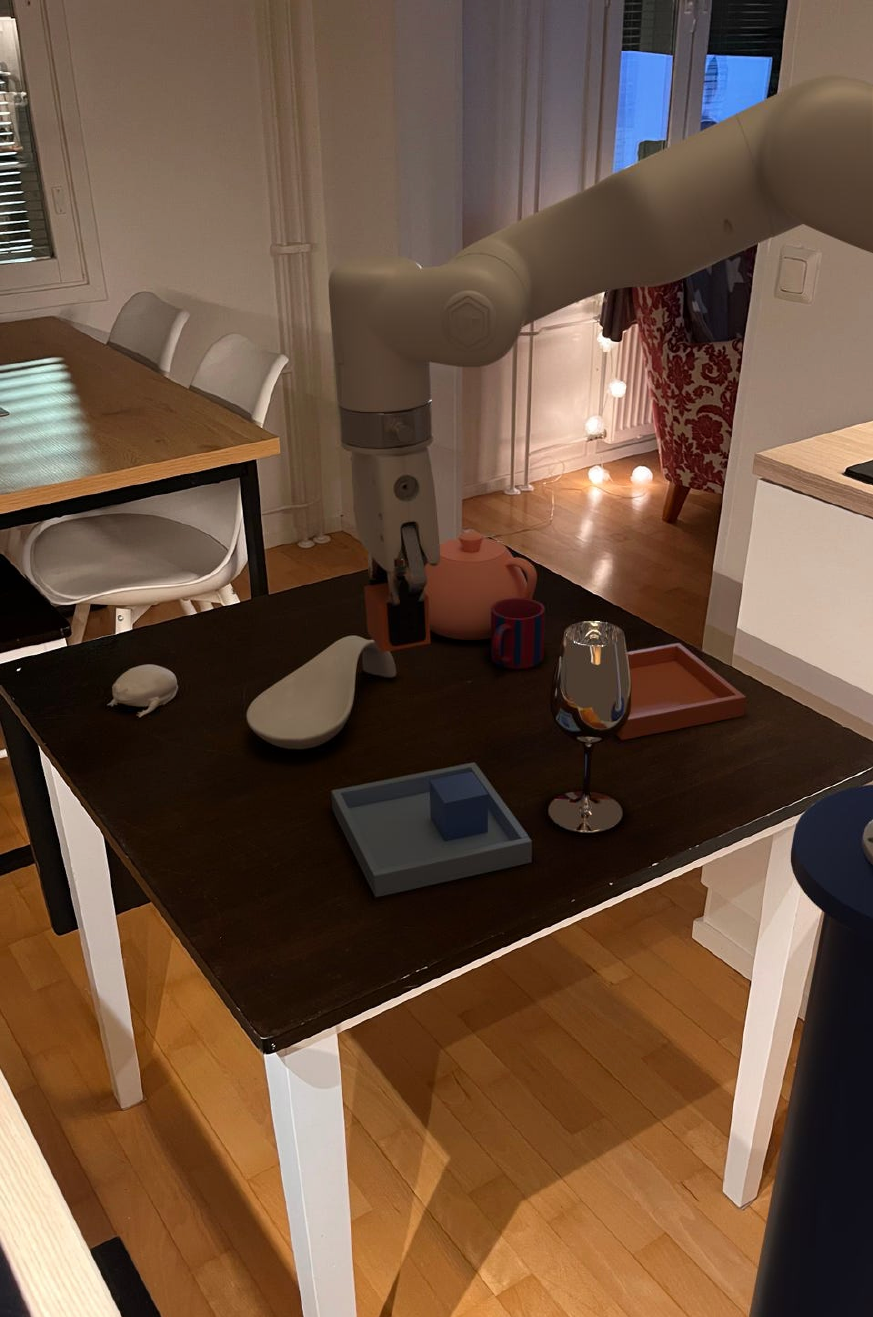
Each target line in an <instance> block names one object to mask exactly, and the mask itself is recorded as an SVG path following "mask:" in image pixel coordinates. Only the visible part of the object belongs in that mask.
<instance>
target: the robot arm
mask: <svg viewBox="0 0 873 1317" xmlns="http://www.w3.org/2000/svg"><path fill="white" fill-rule="evenodd" d="M802 225H804V226H806V227H808V228H811V229H813V230H815V231H817V232H820V233H821V234H824V235H826V236H829V237H832V238H833V239H836V240H838V241H840V242H842V243H845V244H847V245H850V246H853V247H856V248H858V249H860V250H863V251H865V252H868V253H871V254H873V84H872V83H870V82H867V81H864V80H861V79H858V78H854V77H849V76H848V77H847V76H843V75H833V74H832V75H821V76H817V77H813V78H810V79H806V80H804V81H802V82H799V83H797V84H795V85H792V86H790V87H788V88H786V89H784V90H782V91H780V92H777V93H775V94H774V95H772V96H769V97H768V98H765V99H764V100H761V101H759V102H757V103H755V104H753V105H751V106H750V107H747V108H745V109H742V110H741V111H739V112H736V113H735V114H733V115H731V116H728V117H727V118H725V119H723V120H720V121H719V122H716V123H715V124H713V125H711V126H709V127H706V128H705V129H703V130H701V131H698V132H697V133H694V134H693V135H690V136H688V137H686V138H684V139H682V140H680V141H677V142H676V143H674V144H672V145H670V146H667V147H666V148H663V149H661V150H659V151H658V152H655V153H652V154H651V155H649V156H646V157H644V158H642V159H640V160H639V161H636V162H635V163H632V164H630V165H629V166H626V167H624V168H622V169H620V170H618V171H616V172H614V173H611V174H610V175H608V176H607V177H605V178H603V179H601V180H600V181H599V182H596V183H595V184H593V185H591V186H590V187H587V188H586V189H584V190H582V191H579V192H577V193H575V194H573V195H571V196H568V197H567V198H564V199H562V200H560V201H558V202H556V203H554V204H552V205H550V206H547V207H545V208H543V209H541V210H539V211H537V212H534V213H533V214H530V215H529V216H527V217H525V218H523V219H520V220H519V221H516V222H514V223H512V224H510V225H508V226H506V227H504V228H502V229H500V230H497V231H496V232H494V233H492V234H490V235H488V236H486V237H484V238H481V239H479V240H477V241H476V242H473V243H472V244H470V245H468V246H467V247H465V248H463V249H461V250H460V251H459V252H457V253H456V254H455V255H454V256H453V257H452V258H451V259H450V260H449V261H448V262H447V263H444V264H442V265H437V266H429V267H422V266H421V265H420V264H419V263H418V262H417V261H416V260H413V259H410V258H407V257H403V256H388V255H387V256H385V255H384V256H383V255H382V256H380V255H379V256H366V257H359V258H353V259H348V260H345V261H342V262H340V263H339V264H337V265H336V266H335V267H334V268H333V269H332V270H331V272H330V275H329V279H328V303H329V312H330V313H329V314H330V325H331V340H332V348H333V349H332V350H333V361H334V362H333V363H334V373H335V386H336V399H337V411H338V422H339V435H340V446H341V448H342V449H343V450H345V451H347V452H351V456H350V461H351V484H352V500H353V511H354V512H353V514H354V523H355V529H356V534H357V537H358V540H359V542H360V544H361V545H362V546H363V547H364V549H365V550H366V551H367V570H368V576H369V578H370V580H369V581H368V582H369V583H368V584H369V585H368V586H371V585H377V584H383V583H388V584H389V592H390V599H391V602H387V614H388V629H389V642H390V643H391V645H392V646H400V645H406V644H411V643H417V642H422V641H424V640H425V639H426V626H425V605H424V600H425V593H424V587H425V586H426V585H427V576H426V572H425V568H424V567H425V564H424V561H426V563H427V562H428V564H430V565H431V566H436V565H437V564H438V563H439V561H440V545H441V544H440V533H439V523H438V522H439V521H438V520H439V519H438V510H437V500H436V499H437V498H436V490H435V482H434V476H433V468H432V463H431V458H430V453H429V449H428V447H429V446H430V445H432V444H433V442H434V434H433V412H432V411H433V409H432V388H431V365H430V363H433V364H439V365H444V366H445V365H446V366H452V367H457V368H483V367H486V366H489V365H492V364H494V363H496V362H498V361H500V360H501V359H503V358H504V357H505V356H507V354H509V353H510V352H511V350H512V349H513V348H514V346H515V345H516V343H517V342H518V340H519V337H520V334H521V332H522V329H523V328H524V327H526V326H528V325H530V324H532V323H534V322H536V321H538V320H540V319H542V318H544V317H547V316H550V315H551V314H553V313H556V312H558V311H561V310H562V309H564V308H567V307H569V306H572V305H574V304H576V303H578V302H581V301H584V300H585V299H588V298H591V297H594V296H596V295H600V294H603V293H606V292H609V291H614V290H619V289H623V288H638V287H639V288H650V287H658V286H662V285H667V284H670V283H674V282H677V281H679V280H682V279H684V278H687V277H690V276H691V275H693V274H695V273H697V272H699V271H702V270H705V269H706V268H708V267H711V266H713V265H715V264H717V263H719V262H720V261H723V260H725V259H727V258H730V257H731V256H734V255H736V254H738V253H740V252H743V251H745V250H748V249H749V248H752V247H754V246H756V245H758V244H760V243H763V242H765V241H768V240H769V239H772V238H776V237H778V236H780V235H782V234H785V233H786V232H789V231H791V230H793V229H796V228H798V227H800V226H802ZM403 559H404V562H405V565H403V564H402V560H403ZM406 573H407V576H406V580H405V576H404V574H406ZM400 580H401V582H400V585H399V587H398V581H400ZM862 848H863V852H864V854H865V856H866V857H867V859H868V861H869V862H870V863H871V864H872V865H873V820H872V821H870V822H869V823H868V825H867V826H866V828H865V830H864V833H863V838H862Z"/></svg>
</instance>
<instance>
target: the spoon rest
mask: <svg viewBox="0 0 873 1317" xmlns="http://www.w3.org/2000/svg"><path fill="white" fill-rule="evenodd" d="M361 655H362V657H361V658H362V670H363V671H364V672H365V673H367V674H370V675H374V676H380V677H383V678H395V677H396V676H397V668H396V664H395V661H394V657H393V655H392V653H391V651H387V652H382V651H381V650H380V649H379V647H378V646H377V644H376V643H375V642H374V640H373V639H366V638H363V637H362V636H359V635H348V636H345V637H342V638H341V639H338V640H336V641H335V642H334V643H332V644H331V645H329V646H328V647H326V649H324V650H322V651H321V652H320V653H318V654H317V655H316V656H314V657H313V658H312V659H310V660H309V661H308V662H306V663H304V664H303V665H302V666H301V667H299V668H297V669H295V670H294V671H293V672H291V673H289V674H288V675H287V676H285V677H283V678H282V679H281V680H279V681H277V682H276V683H274V684H273V685H271V686H270V687H269V688H266V690H264V691H263V692H261V693H260V694H259V695H257V697H255V699H253V701H252V702H251V703H250V705H249V706H248V707H247V711H246V722H247V724H248V726H249V728H250V729H251V730H252V732H253V733H254V734H255V735H257V736H258V737H259V738H260V739H262V740H263V741H265V742H267V743H269V744H271V745H273V746H275V747H278V748H282V749H287V750H305V749H312V748H316V747H319V746H321V745H323V744H325V743H327V742H329V741H330V740H332V739H333V738H334V737H335V736H337V735H338V734H339V732H341V731H342V729H343V728H344V726H345V725H346V723H347V721H348V720H349V718H350V715H351V712H352V708H353V705H354V700H355V691H356V677H357V675H356V674H357V667H358V661H359V658H360V656H361Z"/></svg>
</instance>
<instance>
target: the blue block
mask: <svg viewBox="0 0 873 1317" xmlns="http://www.w3.org/2000/svg"><path fill="white" fill-rule="evenodd" d="M429 783H430V815H431V819H432V821H433V823H434V824H435V826H436V827H437V829H438V831H439V832H440V834H441V836H442V837H443V839H444V840H445V841H450V840H455V839H459V838H464V837H468V836H473V835H478V834H482V833H487V832H488V794H487V792H486V791H485V790H484V788H483V787H482V785H481V784H480V782H479V781H478V780H477V778H476V777H475V775H474V774H473V773H472V772H468V773H463V774H458V775H453V776H448V777H443V778H438V779H433V780H429Z"/></svg>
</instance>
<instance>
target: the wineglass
mask: <svg viewBox="0 0 873 1317" xmlns="http://www.w3.org/2000/svg"><path fill="white" fill-rule="evenodd" d="M627 648H628V647H627V643H626V637H625V633H624V631H623V629H621V628H620V627H619V626H617V625H615V624H613V623H609V622H604V621H597V620H596V621H595V620H590V621H580V622H576V623H574V624H571V625H570V626H568V627H567V628H565V630H564V632H563V636H562V640H561V643H560V646H559V650H558V653H557V654H558V655H557V658H556V662H555V666H554V669H553V674H552V678H551V679H552V680H551V687H550V696H549V706H550V713H551V715H552V718H553V721H554V723H555V725H557V727H558V728H559V729H560V730H559V731H561V732H562V733H563V734H564V735H566V736H567V737H569V738H570V739H571V740H573V741H575V742H578V743H581V744H582V747H583V782H582V790H577V791H576V790H575V791H570V792H565V793H563V794H561V795H558V796H557V797H556V798H554V799H552V801H551V802H550V803H549V805H548V808H547V814H548V817H549V819H550V820H551V821H552V822H553V823H554V824H555V825H556V826H558V827H560V828H562V829H563V830H566V831H568V832H569V831H570V832H573V833H578V834H598V833H603V832H606V831H609V830H611V829H613V828H615V827H616V826H617V825H619V824H620V823H621V821H622V820H623V817H624V809H623V808H622V806H621V804H620V803H619V802H618V801H617V800H615V799H614V798H612V797H610V796H609V795H606V794H604V793H601V792H598V791H591V776H592V760H593V752H594V747H595V745H596V744H600V743H604V742H606V741H607V740H610V739H611V738H613V737H615V736H617V735H616V734H617V733H618V732H619V731H620V730H621V729H622V728H623V726H624V725H625V724H626V722H627V720H628V718H629V715H630V713H631V706H632V682H631V673H630V666H629V659H628V653H627V652H628V649H627Z"/></svg>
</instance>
